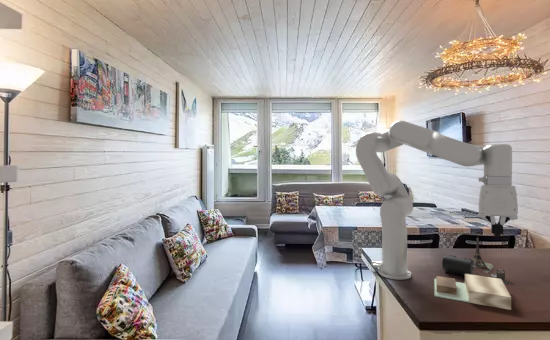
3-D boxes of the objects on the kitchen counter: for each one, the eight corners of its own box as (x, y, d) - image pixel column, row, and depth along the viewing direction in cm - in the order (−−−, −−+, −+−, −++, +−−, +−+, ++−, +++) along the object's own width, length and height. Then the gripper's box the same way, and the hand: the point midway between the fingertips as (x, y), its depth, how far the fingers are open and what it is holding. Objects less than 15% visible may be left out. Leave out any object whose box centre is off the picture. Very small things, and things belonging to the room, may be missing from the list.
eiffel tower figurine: (488, 274, 122) (489, 242, 122) (460, 268, 129) (460, 237, 129) (496, 265, 132) (496, 235, 132) (469, 259, 140) (469, 231, 139)
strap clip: (489, 276, 120) (489, 265, 120) (498, 276, 119) (498, 265, 119) (502, 284, 111) (502, 273, 111) (511, 285, 111) (511, 273, 111)
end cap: (441, 273, 123) (441, 257, 123) (446, 268, 128) (446, 253, 128) (470, 279, 116) (470, 262, 116) (474, 274, 121) (474, 258, 121)
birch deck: (468, 302, 98) (469, 290, 97) (464, 284, 112) (464, 273, 112) (511, 310, 92) (511, 297, 92) (501, 289, 106) (501, 278, 106)
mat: (434, 296, 102) (434, 295, 102) (434, 279, 116) (434, 278, 116) (470, 302, 97) (470, 301, 97) (466, 284, 111) (466, 283, 111)
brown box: (456, 288, 102) (456, 295, 102) (454, 278, 110) (454, 285, 110) (436, 284, 105) (436, 291, 105) (436, 276, 113) (436, 282, 113)
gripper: (471, 181, 100) (471, 236, 100) (529, 182, 92) (528, 241, 93) (469, 180, 106) (469, 231, 107) (523, 181, 99) (522, 235, 100)
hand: (497, 235), depth 100 cm, fingers closed
